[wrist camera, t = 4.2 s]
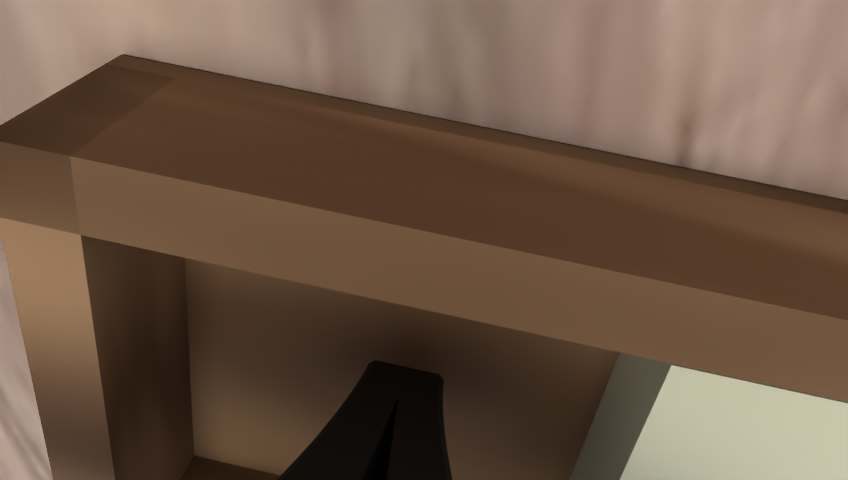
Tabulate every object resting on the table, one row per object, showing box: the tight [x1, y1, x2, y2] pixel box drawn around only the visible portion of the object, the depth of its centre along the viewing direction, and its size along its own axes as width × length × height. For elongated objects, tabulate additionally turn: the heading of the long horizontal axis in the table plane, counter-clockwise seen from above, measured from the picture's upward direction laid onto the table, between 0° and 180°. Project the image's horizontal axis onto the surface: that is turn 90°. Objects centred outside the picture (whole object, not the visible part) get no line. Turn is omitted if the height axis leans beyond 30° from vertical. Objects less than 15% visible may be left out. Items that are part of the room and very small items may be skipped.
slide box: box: [0, 55, 848, 480], centre depth 13 cm, size 10×18×4 cm, turn 82°
